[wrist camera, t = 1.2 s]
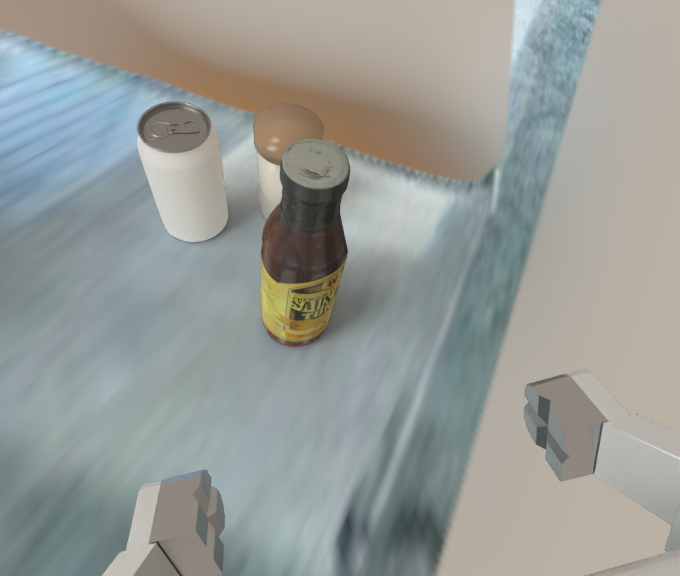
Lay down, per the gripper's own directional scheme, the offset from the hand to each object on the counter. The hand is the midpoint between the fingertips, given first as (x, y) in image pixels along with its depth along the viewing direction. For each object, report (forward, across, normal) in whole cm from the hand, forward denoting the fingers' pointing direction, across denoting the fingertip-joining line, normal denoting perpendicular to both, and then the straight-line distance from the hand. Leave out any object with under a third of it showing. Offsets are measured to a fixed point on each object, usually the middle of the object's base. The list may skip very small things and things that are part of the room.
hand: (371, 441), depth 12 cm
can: (+39, +11, +8) cm, 41 cm away
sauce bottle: (+29, +3, +16) cm, 33 cm away
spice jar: (+40, +2, +9) cm, 41 cm away
